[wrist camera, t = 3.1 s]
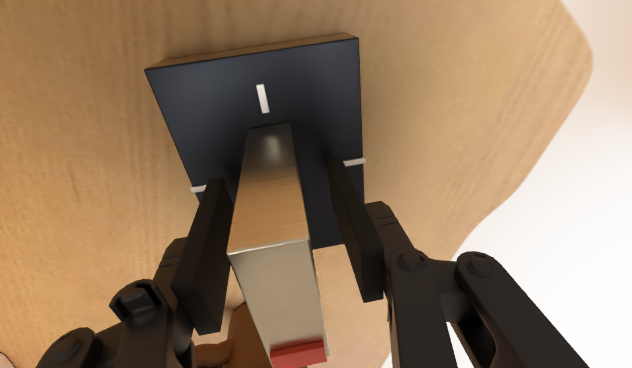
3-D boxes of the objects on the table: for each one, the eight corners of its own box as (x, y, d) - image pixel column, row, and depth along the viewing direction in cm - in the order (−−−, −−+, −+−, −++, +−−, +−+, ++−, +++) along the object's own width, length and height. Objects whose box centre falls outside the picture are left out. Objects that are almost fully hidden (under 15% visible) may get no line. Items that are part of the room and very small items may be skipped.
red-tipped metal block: (247, 128, 15) (223, 260, 7) (289, 121, 15) (310, 244, 7) (271, 217, 18) (272, 376, 10) (305, 211, 18) (331, 363, 10)
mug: (176, 319, 26) (139, 438, 19) (207, 272, 24) (179, 387, 17) (279, 343, 31) (282, 447, 23) (315, 305, 28) (330, 409, 21)
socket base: (161, 59, 15) (139, 70, 13) (346, 32, 16) (362, 36, 13) (229, 237, 22) (223, 268, 20) (356, 214, 23) (368, 241, 20)
